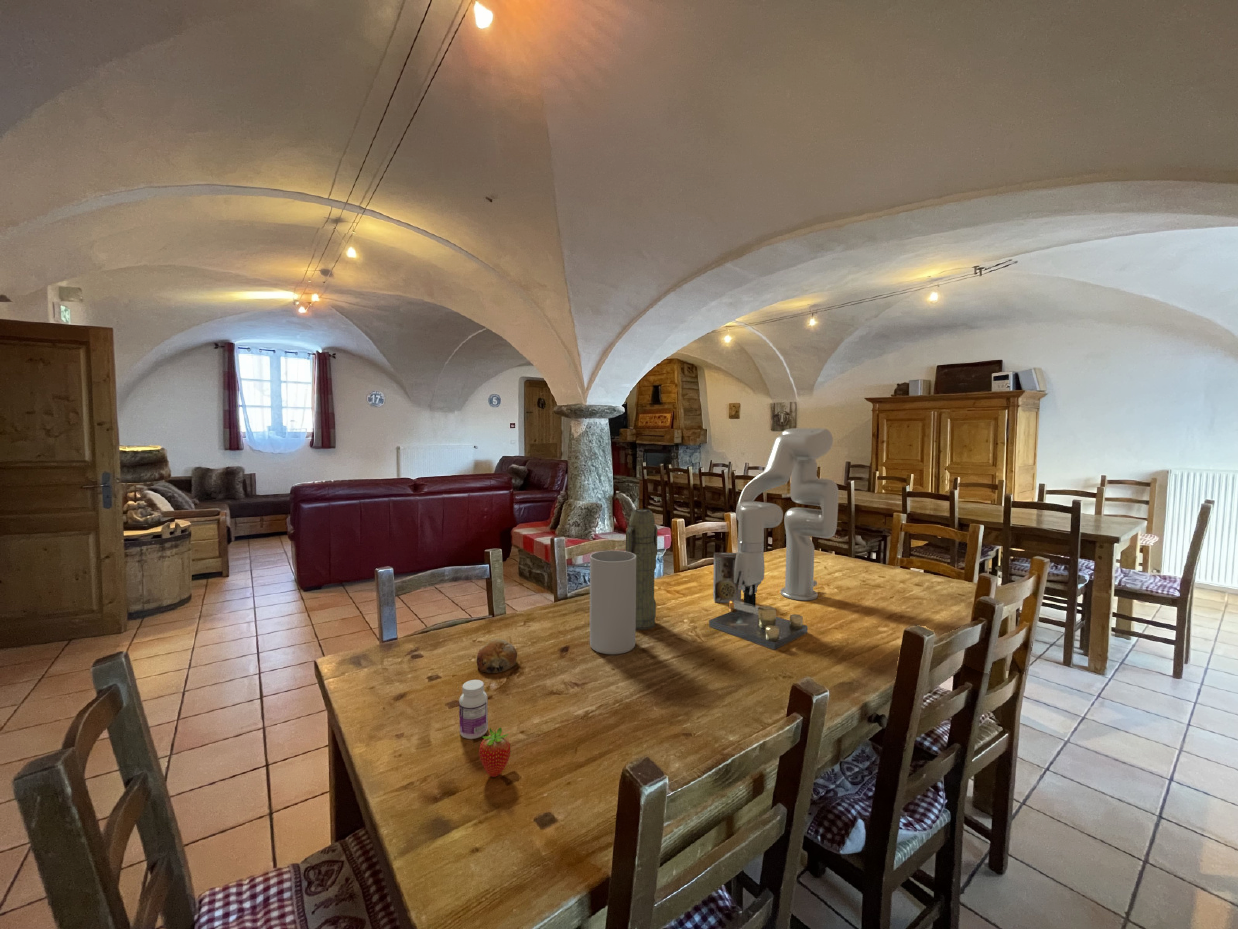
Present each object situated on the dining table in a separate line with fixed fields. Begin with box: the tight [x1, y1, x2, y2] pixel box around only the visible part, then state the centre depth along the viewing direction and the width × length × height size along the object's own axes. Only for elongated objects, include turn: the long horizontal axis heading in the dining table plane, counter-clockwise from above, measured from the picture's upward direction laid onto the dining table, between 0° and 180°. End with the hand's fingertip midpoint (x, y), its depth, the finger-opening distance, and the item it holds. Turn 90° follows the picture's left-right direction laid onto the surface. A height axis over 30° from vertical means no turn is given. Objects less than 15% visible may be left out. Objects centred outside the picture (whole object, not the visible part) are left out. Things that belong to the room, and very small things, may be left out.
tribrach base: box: [708, 609, 809, 651], centre depth 153 cm, size 18×22×5 cm
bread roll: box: [476, 638, 518, 674], centre depth 130 cm, size 10×10×8 cm
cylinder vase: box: [589, 550, 637, 655], centre depth 141 cm, size 12×12×25 cm
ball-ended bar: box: [728, 600, 777, 629], centre depth 154 cm, size 15×5×5 cm, turn 49°
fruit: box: [478, 727, 511, 778], centre depth 88 cm, size 5×5×8 cm
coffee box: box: [712, 552, 742, 604], centre depth 179 cm, size 9×6×16 cm
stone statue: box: [625, 508, 658, 631], centre depth 156 cm, size 9×12×35 cm
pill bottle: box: [458, 679, 489, 740], centre depth 101 cm, size 5×5×10 cm
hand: (749, 605), depth 157 cm, fingers closed
